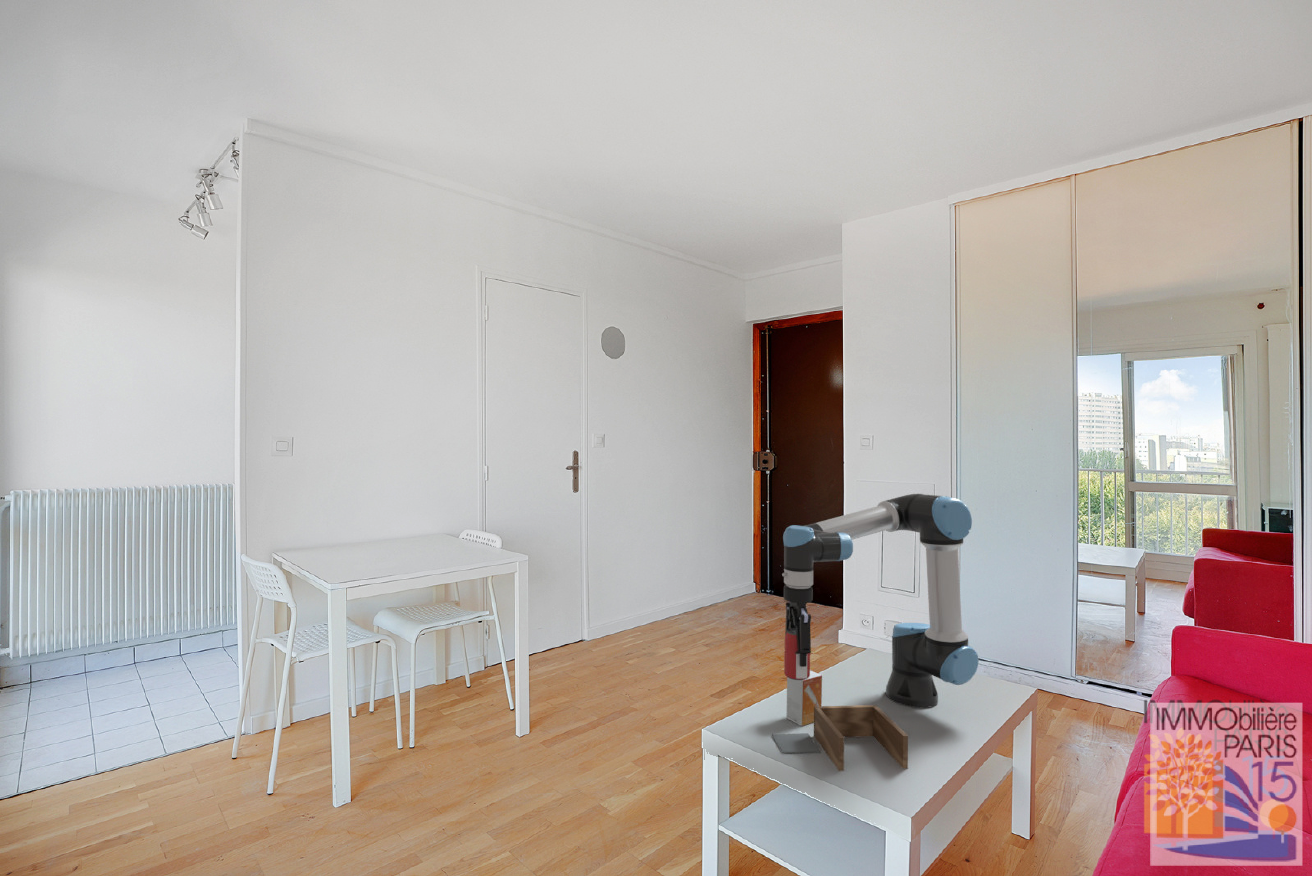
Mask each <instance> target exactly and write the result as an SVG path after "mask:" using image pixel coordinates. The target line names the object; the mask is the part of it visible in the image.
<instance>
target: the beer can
mask: <svg viewBox="0 0 1312 876" xmlns="http://www.w3.org/2000/svg"><path fill="white" fill-rule="evenodd" d="M795 651H798V648H797V636H796V628H790V629H788V630H787V633H786V635H785V634H784V655H783V656H784V662H783V663H784V665H783V666H784V667H783V668H784V670H783V672H784V675H785V677H786V678H787V677H788V678H790V679H793V680H805V679H807V678H809V676H810V670H811V653H808V654H807V678H801V679H797V678H796V654H795Z"/></svg>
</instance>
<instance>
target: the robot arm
mask: <svg viewBox="0 0 1312 876" xmlns="http://www.w3.org/2000/svg"><path fill="white" fill-rule="evenodd" d="M972 526H973V520H972V514H971V511H970V510H969V507H968V506H967V505H966V503H964V502H963V501H962V500H961V499H958V498H955V497H950V496H947V495H934V494H923V493H912V494H906V495H905V494H904V495H902V496H897V497H895V498H891V499H886V500H883V501H881V502H879V503H878V504H877V505H876V506H874V507H870V508H866V509H863V510H859V511H854V512H851V513H848V514H844V515H841V516H836V517H833V518H828V519H826V520H821V521H818V522H814V523H810V524H805V525H798V524H797V525H795V524H794V525H793V524H792V525H789V526H788V527H786V528H785V531H784V532H783V536H782V539H783V540H782V541H783V547H784V548H783V551H784V552H783V560H784V561H783V571H784V572H783V573H782V574H781V575H782V577H783V583H784V586H783V599H784V600H785V601H786V602H785V633H784V636H785V635H786V633H787V630H788V629H790V628H796V636H797V648H798V651H795V654H796V678H797V679H801V678H807V654H808V653H810V654H811V653H812V649H811V648H812V647H811V644H812V643H811V642H812V639H811V637H812V636H811V622H812V616H811V614H810V613H809V612H808V609H807V604H808V603H809V604H810V603H811V602H812V601H813V600H814V599H813V597H814V596H813V595H814V592H813V591H814V590H813V587H812V586H813V585H814V563H818V562H821V563H822V562H823V563H824V562H840V561H844V560H845V561H846V560H849V559H850V558H851V557H852V555H853V552H854V542H853V540H855V539H859V538H863V537H866V536H871V535H873V534H874V535H875V534H877V533H880V532H885V531H886V532H888V533H893V532H897V531H907V532H908V531H910V532H916V533H919V542H920V543H919V544H921V545H922V546H924V547H925V554H926V573H927V574H926V576H927V577H926V578H927V580H926V581H927V595H928V598H927V600H928V613H929V614H928V617H929V619H928V620H929V624H927V623H921V622H901V623H897V624H895V625H894V626H893V628H892V635H891V640H892V641H891V650H892V651H891V652H892V653H891V654H892V655H891V656H892V657H891V662H892V663H891V664H892V666H891V673H890V676H889V678H888V680H887V684H886V686H885V687H886V688H885V696H886V697H887V698H888V699H889V700H891V701H892V702H895V703H896V704H899V705H902V706H905V707H912V708H921V709H922V708H924V709H925V708H931V707H935V706H936V705H937V704H938V703H939V694H938V690H937V687H936V684H935V680H934V678H938V679H940V680H941V681H943V682H945V683H950V684H952V685H955V686H961V685H964V684H967V683H968V682H970V681H971V680H972V678H973V677H974V676H975V675H976V672H977V670H978V668H979V655H978V653H977V651H976V650H975V649H974V648H973V647H971V646H970V645H969V635H968V633H966V632H965V631H964V630H963V629H962V628H963V627H962V626H963V624H962V608H961V607H962V606H961V603H962V602H961V586H960V581H961V580H960V567H959V565H960V564H959V548H960V547H961V546H962V545H963V544H964V539H965V538H966V537H967V536H969V534H970V531H971V530H972ZM933 677H934V678H933Z"/></svg>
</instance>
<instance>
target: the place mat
mask: <svg viewBox="0 0 1312 876" xmlns="http://www.w3.org/2000/svg"><path fill="white" fill-rule="evenodd" d="M771 736H772V738H773V740H774V742H775V743H776V745H777V747H778V749H779V750H780V752H781V753H782V755H787V754H790V755H794V754H815V753H816V754H819V753H820V754H821V753H822V750H821V749H820V748H819V747H818V745H817V744H816V742H815V741H814V740H813V738H812V737H811V735H810V734H809V733H808V732H806V733H805V732H804V733H803V732H802V733H772V734H771Z"/></svg>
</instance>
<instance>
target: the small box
mask: <svg viewBox="0 0 1312 876" xmlns="http://www.w3.org/2000/svg"><path fill="white" fill-rule="evenodd" d="M822 687H823V675H822V674H820V673H817V672H815V671H813V670H811V669H810V676H809V678H807V679H805V680H793V679H790V678H788V677H787V676H786V717H785V718H786V719H788V720H790V721H791V722H793V723H795V724H797V725H799V726H801V727H803V726H806V725H809V724H812V723H814V706H822V701H823V700H822V696H823V694H822V693H823V690H822V689H823V688H822Z"/></svg>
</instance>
